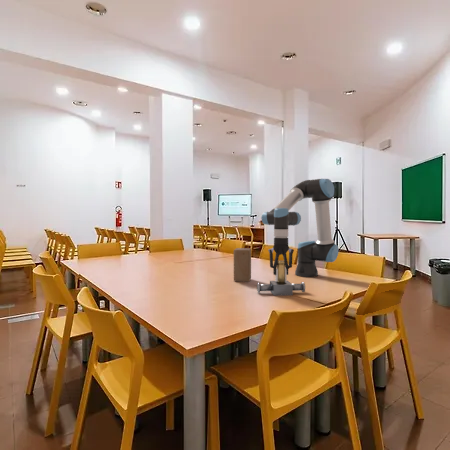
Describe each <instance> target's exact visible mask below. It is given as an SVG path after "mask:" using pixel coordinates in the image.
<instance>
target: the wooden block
mask: <svg viewBox="0 0 450 450" xmlns="http://www.w3.org/2000/svg"><path fill="white" fill-rule="evenodd" d="M251 279H252V248H249V247H248V248H246V247H244V248H243V247H237V248H235V249H233V282H239V283H241V282H242V283H245V282H246V283H249V282H250V281H251Z"/></svg>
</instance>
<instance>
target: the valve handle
mask: <svg viewBox="0 0 450 450" xmlns="http://www.w3.org/2000/svg"><path fill="white" fill-rule="evenodd" d="M277 269H278V282H277V284H285V261H284V260H278V263H277Z"/></svg>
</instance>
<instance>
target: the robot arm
mask: <svg viewBox="0 0 450 450" xmlns="http://www.w3.org/2000/svg"><path fill="white" fill-rule="evenodd" d="M334 195H335V186H334V183H333V181H332V180H331V179H330V178H317V179H306V180H302V181H301V182H299V183H297V184H296V185H294V186H293V187H292V188H291V189H290V191H289V193H288V194H286V196H284V198H283V199H282V200H280V202H279V203H277V204H276V205H275V206H274V207H273V208H272V209H271V210H270V211H264V212H262V215H261V222H262V224H263V225H268V226H273V237H274V238H273V246H272V248H268V249H267V251H268V253H269V267H270V268H271V269H273V272H272V273H273V275H274V276H275V277H274V278H275V279H274V281H276V282H278V269H277V263H278V261H279V258H280V256H281V255H282V258H283V261H285V281H288V280H287V278H288V277H287V276H288V275H289V269H290V268H293V254H294V251H295V250H294V249H293V248H290V247H289V226H297V225H299V224H300V223H301V222H302V216H301V214H300V213H299V212H296V211H290V210H291V209H292V208H294V206H295V205H296V204H297V203H298V202H301V201H303V200H304V199H311V200H312V201H311V202H313V203H314V208H315V220H316V221H315V223H316V233H317V235H316V236H317V240H316V241H315V240H310V241H309V240H308V241H307V240H306V241H301V242H299V243H297V244H298V245H297V265H296V268H295V270H294V271H295V273H294V275H295V276H298V277H303V278H304V277H306V278H311V277H312V278H313V277H314V276H315V277H318V276H317V275H319V271H318V268H317V265H316V262H324V263H334V262H336V260H337V258H338V256H339V246H338V245H337V244H336V243H335V240H334V239H333V238H332V226H331V212H330V211H331V210H330V201H332V198H333V197H334ZM287 252H288V257H287ZM273 253H275V258H274V254H273Z"/></svg>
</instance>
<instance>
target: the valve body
mask: <svg viewBox="0 0 450 450" xmlns="http://www.w3.org/2000/svg"><path fill="white" fill-rule="evenodd" d="M256 289H257V291H256V292H257V293H258V294H259V293H261V292H270V293H271V294H272V295H273V296H274V297H277V296H282V297H283V296H293V294H294V293H293V292H295V291H298V292H299V291H300V292H302V293H305V292H306V283H305V282H304V281H301V282H300V283H292V282H290V281H289V280H286V281H285V284H277V282H276V281H275V280H269V283H268V284H267V283H264V284H263V283H262V284H260V282H257V285H256Z"/></svg>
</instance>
